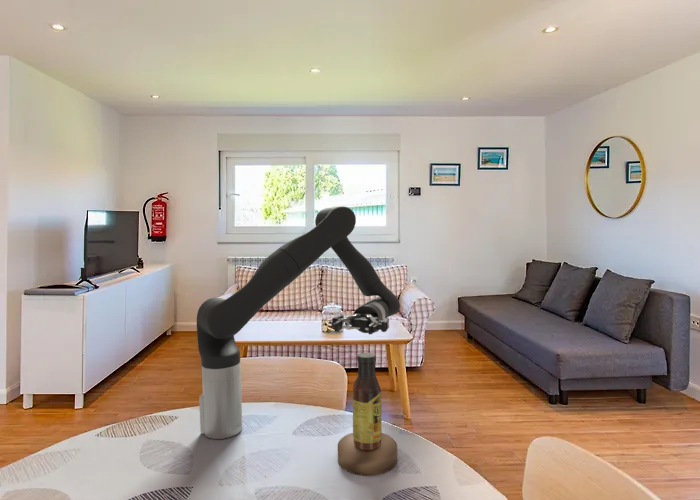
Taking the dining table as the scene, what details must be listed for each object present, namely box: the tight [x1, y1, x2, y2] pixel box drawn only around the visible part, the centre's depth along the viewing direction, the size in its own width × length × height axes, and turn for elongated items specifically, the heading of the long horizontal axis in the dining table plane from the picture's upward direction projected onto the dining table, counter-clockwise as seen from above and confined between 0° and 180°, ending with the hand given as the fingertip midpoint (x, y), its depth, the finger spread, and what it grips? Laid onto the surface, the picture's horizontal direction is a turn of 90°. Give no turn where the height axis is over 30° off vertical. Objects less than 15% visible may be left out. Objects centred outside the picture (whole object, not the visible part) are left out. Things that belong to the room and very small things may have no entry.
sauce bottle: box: [352, 352, 383, 451], centre depth 93 cm, size 6×6×20 cm
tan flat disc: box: [337, 432, 398, 477], centre depth 94 cm, size 13×13×3 cm
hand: (352, 328), depth 104 cm, fingers open, 8 cm apart
